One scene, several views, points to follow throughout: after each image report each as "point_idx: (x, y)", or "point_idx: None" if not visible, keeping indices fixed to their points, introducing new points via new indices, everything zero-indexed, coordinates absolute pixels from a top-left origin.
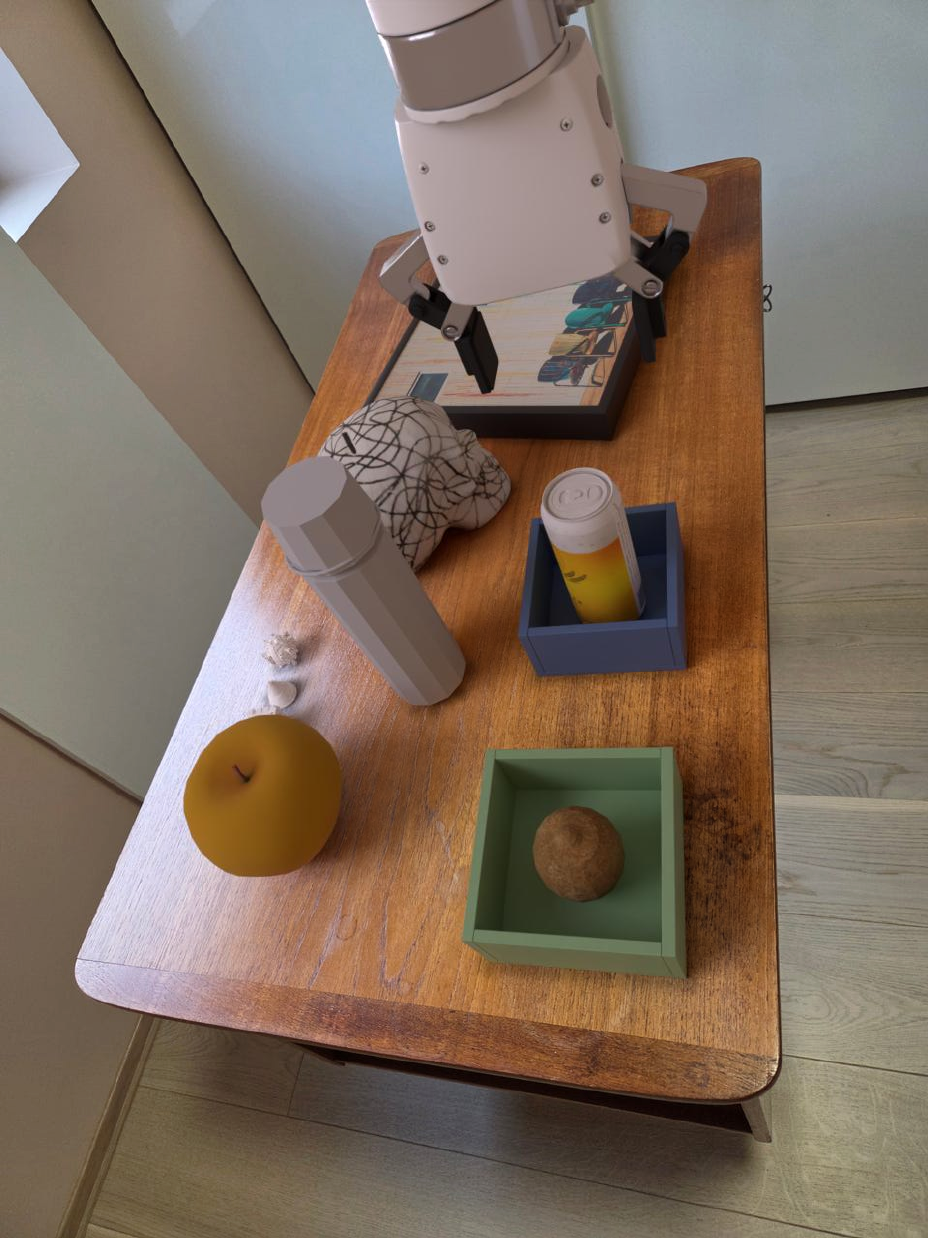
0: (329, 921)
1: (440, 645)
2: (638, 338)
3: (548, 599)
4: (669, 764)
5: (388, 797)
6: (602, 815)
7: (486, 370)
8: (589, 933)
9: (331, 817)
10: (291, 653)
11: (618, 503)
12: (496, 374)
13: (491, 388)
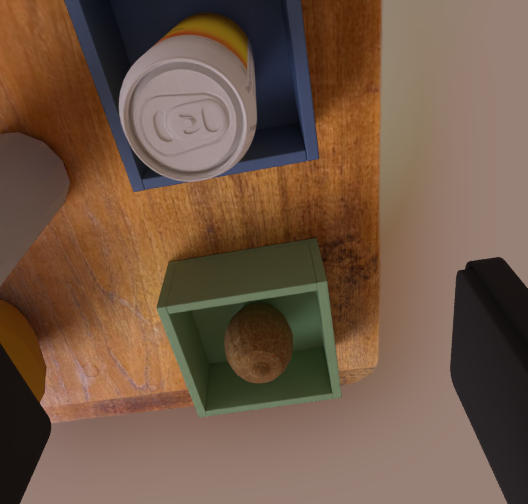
0: (75, 370)
1: (41, 213)
2: (483, 446)
3: (126, 65)
4: (325, 295)
5: (62, 290)
6: (276, 333)
7: (21, 477)
8: None
9: (40, 365)
10: None
11: (255, 119)
12: (22, 377)
13: (48, 437)
